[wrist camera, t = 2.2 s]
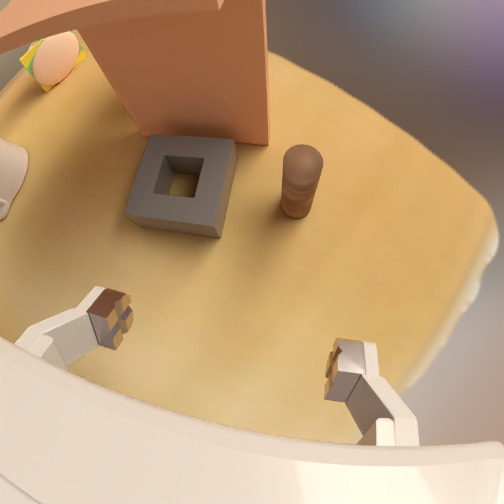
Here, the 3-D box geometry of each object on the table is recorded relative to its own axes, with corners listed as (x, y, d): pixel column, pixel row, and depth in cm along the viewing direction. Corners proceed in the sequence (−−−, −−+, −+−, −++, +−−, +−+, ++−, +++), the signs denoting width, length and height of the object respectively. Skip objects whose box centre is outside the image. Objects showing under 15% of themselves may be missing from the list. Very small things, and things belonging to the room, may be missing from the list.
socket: (220, 238, 42) (214, 226, 37) (138, 226, 43) (124, 214, 38) (237, 158, 45) (233, 139, 40) (160, 151, 46) (150, 134, 41)
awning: (254, 220, 42) (214, -14, 10) (120, 203, 44) (-34, 54, 12) (270, 137, 45) (260, -81, 13) (146, 128, 47) (51, -37, 15)
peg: (288, 223, 42) (293, 184, 30) (276, 197, 43) (276, 151, 31) (315, 213, 42) (330, 171, 31) (303, 187, 43) (312, 139, 31)
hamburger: (76, 50, 55) (55, 17, 44) (91, 58, 54) (68, 22, 42) (38, 84, 54) (13, 54, 42) (50, 96, 52) (22, 63, 41)
